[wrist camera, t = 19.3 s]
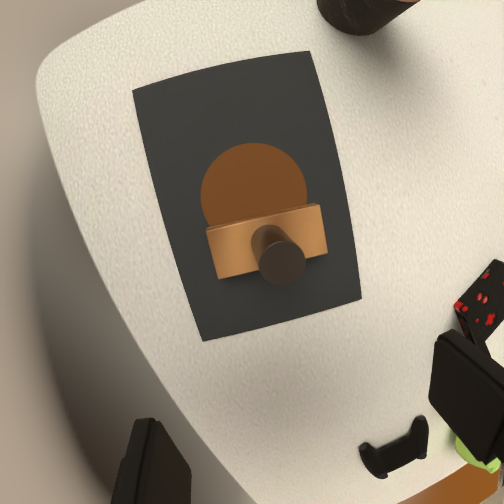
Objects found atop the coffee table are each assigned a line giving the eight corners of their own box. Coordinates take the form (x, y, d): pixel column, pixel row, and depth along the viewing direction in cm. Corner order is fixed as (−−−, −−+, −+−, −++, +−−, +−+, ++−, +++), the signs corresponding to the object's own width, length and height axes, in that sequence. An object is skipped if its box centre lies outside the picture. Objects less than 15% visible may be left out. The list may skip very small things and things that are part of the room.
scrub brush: (218, 269, 27) (216, 312, 19) (207, 225, 26) (198, 249, 18) (318, 245, 27) (357, 276, 19) (310, 201, 26) (348, 214, 18)
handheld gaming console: (508, 303, 32) (554, 331, 23) (454, 363, 33) (495, 403, 24) (495, 255, 30) (551, 279, 20) (434, 321, 31) (486, 363, 22)
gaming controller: (354, 443, 38) (367, 480, 35) (358, 447, 34) (372, 487, 31) (417, 413, 38) (429, 449, 34) (426, 414, 34) (439, 452, 30)
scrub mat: (202, 339, 29) (202, 342, 29) (133, 91, 23) (131, 90, 23) (360, 297, 29) (362, 299, 29) (308, 52, 23) (309, 50, 23)
